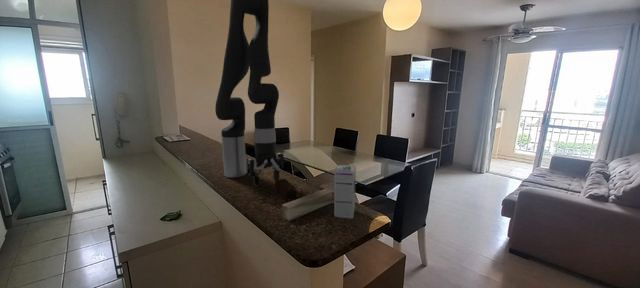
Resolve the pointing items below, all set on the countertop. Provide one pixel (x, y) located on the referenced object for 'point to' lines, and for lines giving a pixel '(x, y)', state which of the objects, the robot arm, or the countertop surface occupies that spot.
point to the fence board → (306, 204)
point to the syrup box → (344, 191)
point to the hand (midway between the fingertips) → (266, 182)
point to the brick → (285, 189)
